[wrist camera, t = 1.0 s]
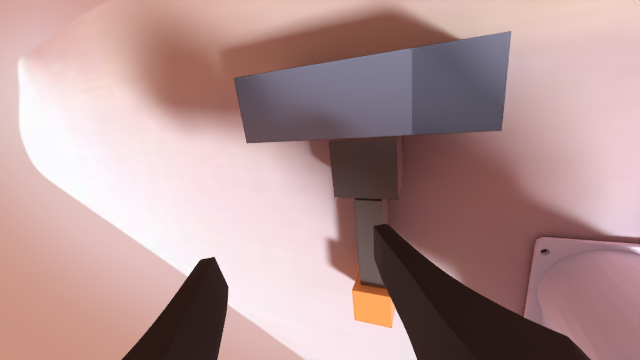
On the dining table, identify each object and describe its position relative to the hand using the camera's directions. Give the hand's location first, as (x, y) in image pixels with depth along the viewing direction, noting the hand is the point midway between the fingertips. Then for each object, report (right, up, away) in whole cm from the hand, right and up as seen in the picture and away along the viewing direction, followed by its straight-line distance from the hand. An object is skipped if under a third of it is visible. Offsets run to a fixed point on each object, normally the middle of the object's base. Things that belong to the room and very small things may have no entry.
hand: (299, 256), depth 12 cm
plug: (+6, +1, +10) cm, 12 cm away
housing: (+5, +10, +8) cm, 13 cm away
